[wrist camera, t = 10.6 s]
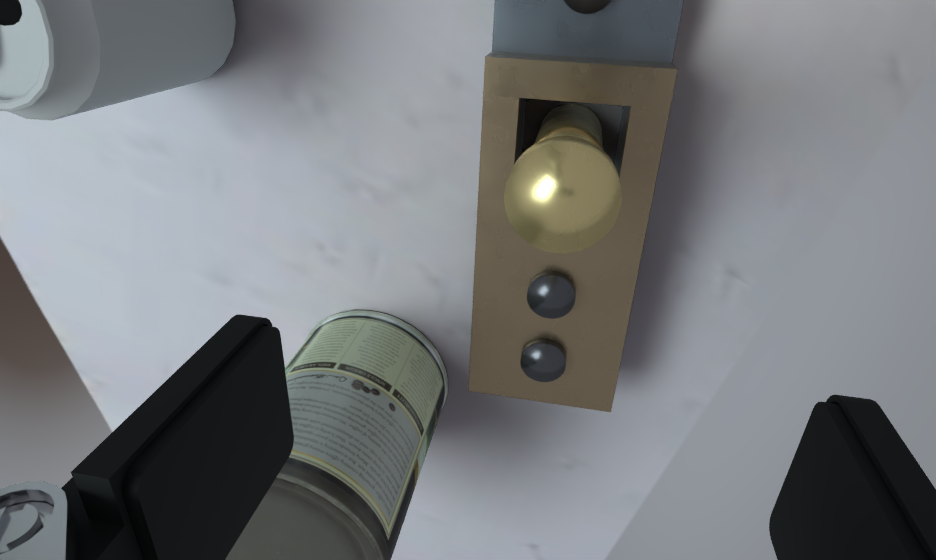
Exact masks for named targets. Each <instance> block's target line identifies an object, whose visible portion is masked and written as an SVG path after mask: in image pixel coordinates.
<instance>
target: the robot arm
mask: <svg viewBox="0 0 936 560" xmlns="http://www.w3.org/2000/svg"><path fill="white" fill-rule="evenodd" d="M293 443H294V433H293V426H292V419H291V411H290V404H289V396H288V389H287V381H286V374H285V366H284V359H283V351H282V344H281V337H280V332H279V330H278V328H276V327H272V323H271V322H270V320H269V319H267V318H261V317H254V316H246V315H235V316H234V317H232V318H231V319H230V320H229V321H228V322H227V323H226V324H225V325H224V326H223V327H222V328H221V329H220V330H219V331H218V332H217V333H216V334H215V335H214V336H213V337H212V338H210V339H209V340H208V341H207V342H206V343H205V344H204V345H203V346H202V347H201V348H200V349H199V350H198V351H197V352H196V353H195V354H194V355H193V356H192V357H191V358H190V359H189V360H188V361H186V362H185V363H184V364H183V365H182V366H181V367H180V368H179V369H178V370H177V371H176V372H175V373H174V374H173V375H172V376H171V377H170V378H169V379H168V380H167V381H166V382H165V383H164V384H162V385H161V386H160V387H159V388H158V389H157V390H156V391H155V392H154V393H153V394H152V395H151V396H150V397H149V398H148V399H147V400H146V401H145V402H144V403H143V404H142V405H141V406H140V407H138V408H137V409H136V410H135V411H134V412H133V413H132V414H131V415H130V416H129V417H128V418H127V419H126V420H125V421H124V422H123V423H122V424H121V425H120V426H119V427H118V428H117V429H116V430H114V431H113V432H112V433H111V434H110V435H109V436H108V437H107V438H106V439H105V440H104V441H103V442H102V443H101V444H100V445H99V446H98V447H97V448H96V449H95V450H94V451H93V452H92V453H90V454H89V455H88V456H87V457H86V458H85V459H84V460H83V461H82V462H81V463H80V464H79V465H78V466H77V467H76V468H75V469H74V470H73V471H72V472H71V474H72V476H73V478H71V479H70V481H68V482H67V483H66V484H65V485H64V486H63V487H62V488H60V487H59V486H57V485H55V484H52V483H48V482H45V481H32V482H24V483H19V484H14V485H10V486H7V487H5V488H2V489H0V560H225V559H226V557H227V556H228V554H229V552H230V551H231V549H232V548H233V546H234V544H235V543H236V541H237V540H238V538H239V536H240V535H241V533H242V532H243V530H244V528H245V527H246V525H247V524H248V522H249V520H250V519H251V517H252V516H253V514H254V512H255V511H256V509H257V508H258V506H259V504H260V503H261V501H262V500H263V498H264V496H265V495H266V493H267V492H268V490H269V488H270V487H271V485H272V484H273V482H274V480H275V479H276V477H277V475H278V474H279V472H280V471H281V469H282V467H283V466H284V464H285V463H286V461H287V459H288V458H289V456H290V454H291V451H292V448H293ZM769 525H770V527H769V528H770V536H771V540H772V544H773V547H774V550H775V553H776V556H777V559H778V560H936V489H935V488H934V486H933V485H932V483H931V482H930V480H929V479H928V477H927V476H926V475H925V473H924V472H923V470H922V469H921V467H920V465H919V464H918V462H917V461H916V460H915V458H914V457H913V455H912V454H911V452H910V451H909V449H908V448H907V446H906V445H905V443H904V442H903V440H902V439H901V438H900V436H899V434H898V433H897V431H896V430H895V429H894V427H893V425H892V424H891V422H890V421H889V419H888V418H887V416H886V415H885V414H884V412H883V411H882V409H881V408H880V406H879V405H878V404H877V403H876V402H875V401H873V400H871V399H863V398H856V397H848V396H840V395H832V396H830V397H829V399H827V401H826V402H818V403H817V404H816V405H815V406H814V408H813V411H812V413H811V416H810V418H809V421H808V423H807V426H806V428H805V431H804V433H803V436H802V438H801V441H800V444H799V446H798V448H797V451H796V453H795V456H794V458H793V461H792V464H791V466H790V469H789V471H788V474H787V476H786V478H785V481H784V483H783V486H782V489H781V491H780V493H779V496H778V499H777V501H776V504H775V506H774V509H773V511H772V514H771V517H770V524H769Z"/></svg>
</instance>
